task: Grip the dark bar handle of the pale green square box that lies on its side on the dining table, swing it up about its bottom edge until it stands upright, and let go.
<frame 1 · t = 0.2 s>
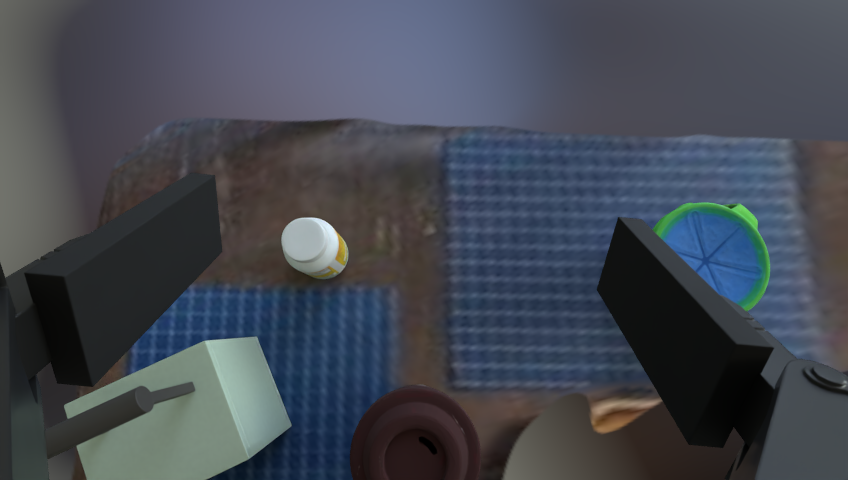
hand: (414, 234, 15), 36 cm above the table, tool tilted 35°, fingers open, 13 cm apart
pale green square box: (169, 426, 39), point 10 cm above the table, hinge at 90.0°
snack cup: (654, 272, 51), on the table
supplement bottle: (325, 255, 51), on the table
coffee cup: (417, 420, 48), on the table
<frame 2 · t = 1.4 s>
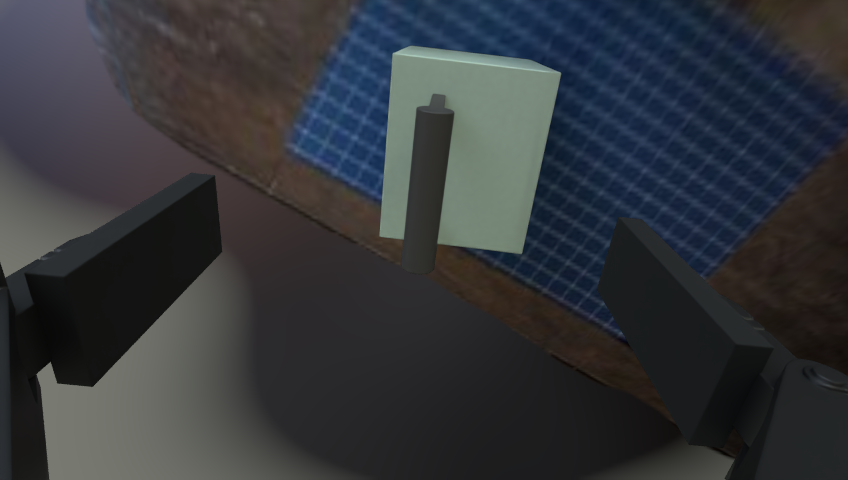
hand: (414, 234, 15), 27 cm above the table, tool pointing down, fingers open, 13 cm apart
pale green square box: (462, 154, 32), point 10 cm above the table, hinge at 90.0°
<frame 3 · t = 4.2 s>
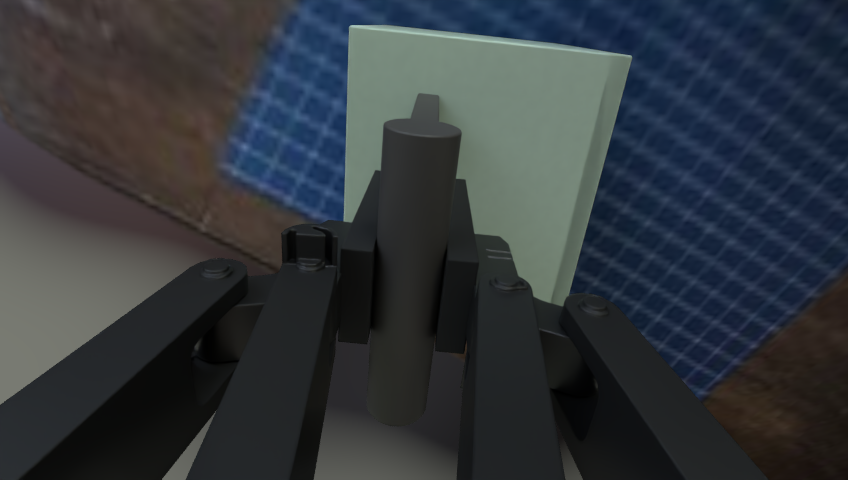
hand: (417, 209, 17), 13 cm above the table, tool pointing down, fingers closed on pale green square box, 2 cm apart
pale green square box: (465, 185, 21), point 10 cm above the table, hinge at 90.0°, touching gripper
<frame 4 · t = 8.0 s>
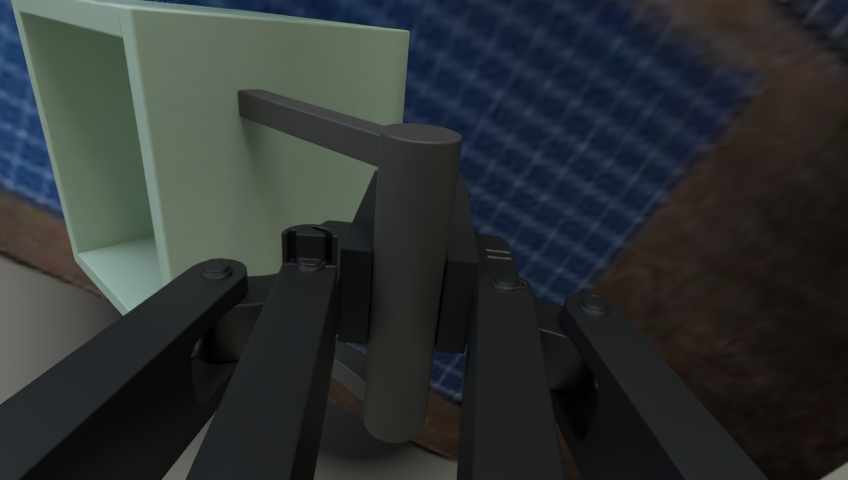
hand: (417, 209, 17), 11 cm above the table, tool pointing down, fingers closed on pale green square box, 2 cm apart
pale green square box: (273, 184, 18), point 10 cm above the table, hinge at 39.4°, touching gripper
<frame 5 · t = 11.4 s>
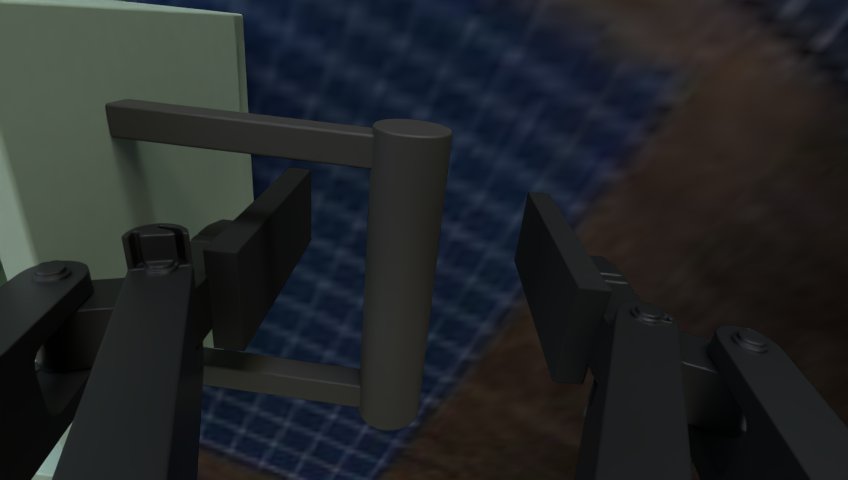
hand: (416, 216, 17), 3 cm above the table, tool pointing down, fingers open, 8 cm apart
pale green square box: (119, 216, 14), point 6 cm above the table, hinge at 4.2°, touching gripper, hand
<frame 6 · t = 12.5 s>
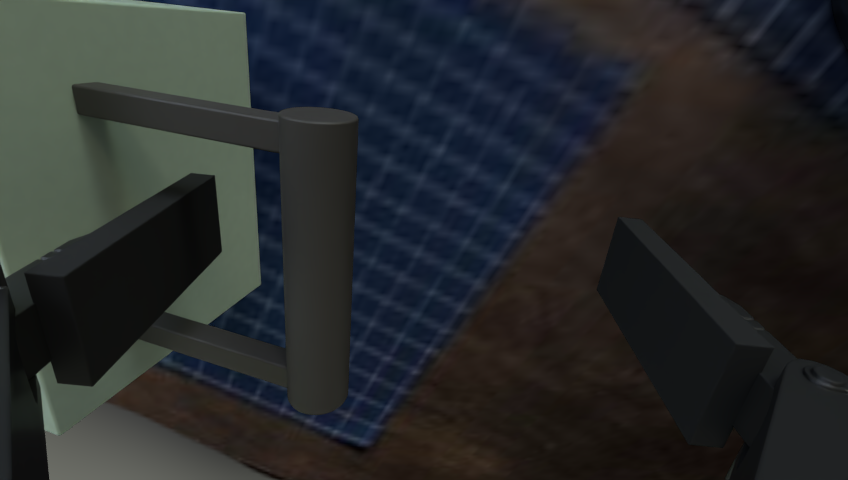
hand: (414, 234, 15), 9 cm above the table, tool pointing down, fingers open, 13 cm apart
pale green square box: (116, 189, 16), point 8 cm above the table, hinge at 16.7°
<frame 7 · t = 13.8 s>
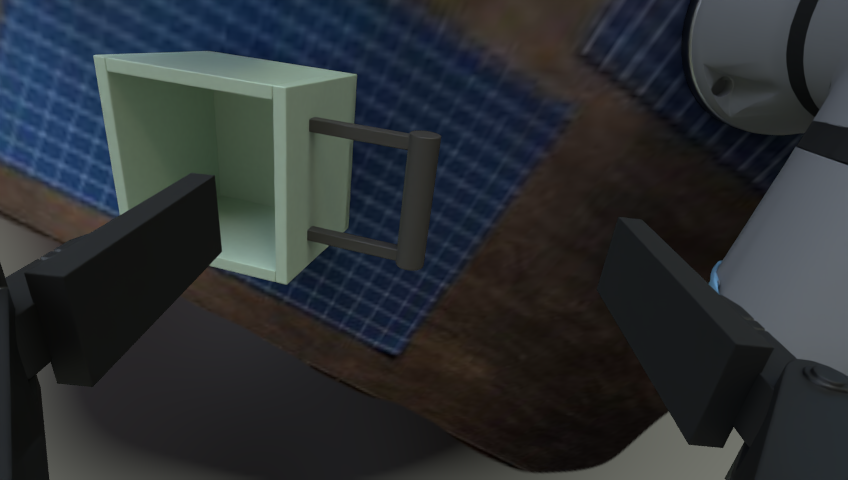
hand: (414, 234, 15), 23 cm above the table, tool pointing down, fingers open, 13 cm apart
pale green square box: (296, 167, 32), point 7 cm above the table, hinge at 12.6°
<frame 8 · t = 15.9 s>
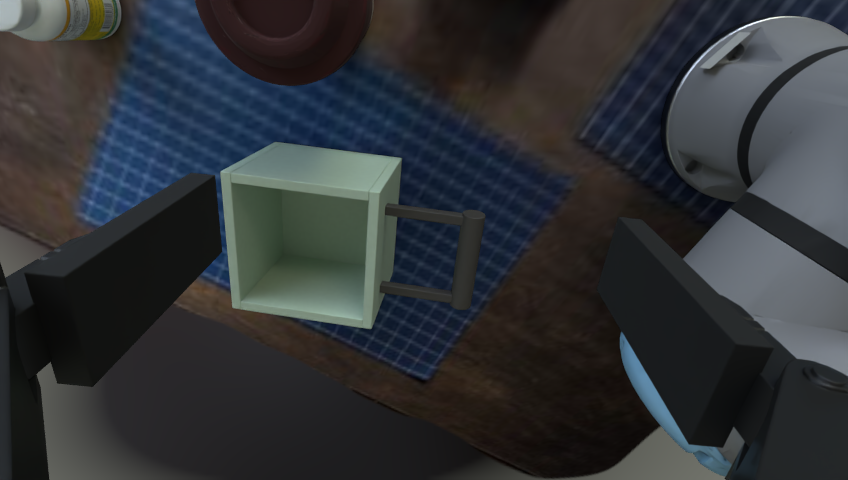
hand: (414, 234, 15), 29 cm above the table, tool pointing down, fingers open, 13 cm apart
pale green square box: (364, 236, 41), point 6 cm above the table, hinge at 5.0°
supplement bottle: (92, 4, 39), on the table
coffee cup: (330, 3, 39), on the table
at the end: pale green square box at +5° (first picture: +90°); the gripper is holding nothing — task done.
